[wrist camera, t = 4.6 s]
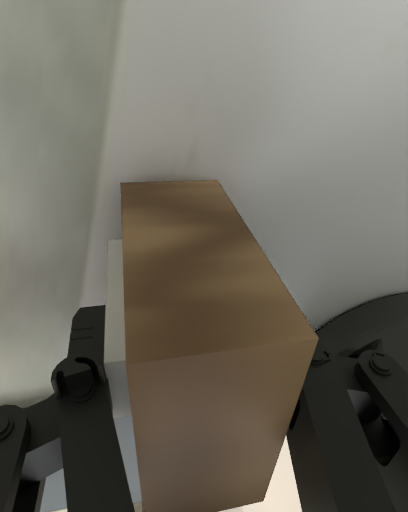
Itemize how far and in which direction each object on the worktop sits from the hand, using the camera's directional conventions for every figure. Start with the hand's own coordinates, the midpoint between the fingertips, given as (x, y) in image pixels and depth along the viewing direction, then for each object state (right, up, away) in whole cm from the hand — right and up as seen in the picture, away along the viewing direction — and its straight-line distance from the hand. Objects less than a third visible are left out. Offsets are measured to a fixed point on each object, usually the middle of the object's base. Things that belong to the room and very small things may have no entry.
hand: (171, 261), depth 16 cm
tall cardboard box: (0, 0, 0) cm, 1 cm away
